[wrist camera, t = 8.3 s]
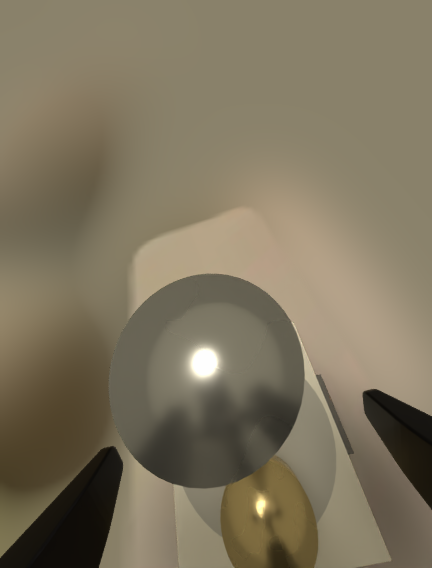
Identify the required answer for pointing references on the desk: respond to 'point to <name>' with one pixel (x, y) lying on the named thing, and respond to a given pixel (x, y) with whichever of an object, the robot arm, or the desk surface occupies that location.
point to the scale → (316, 483)
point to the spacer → (206, 381)
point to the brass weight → (269, 520)
